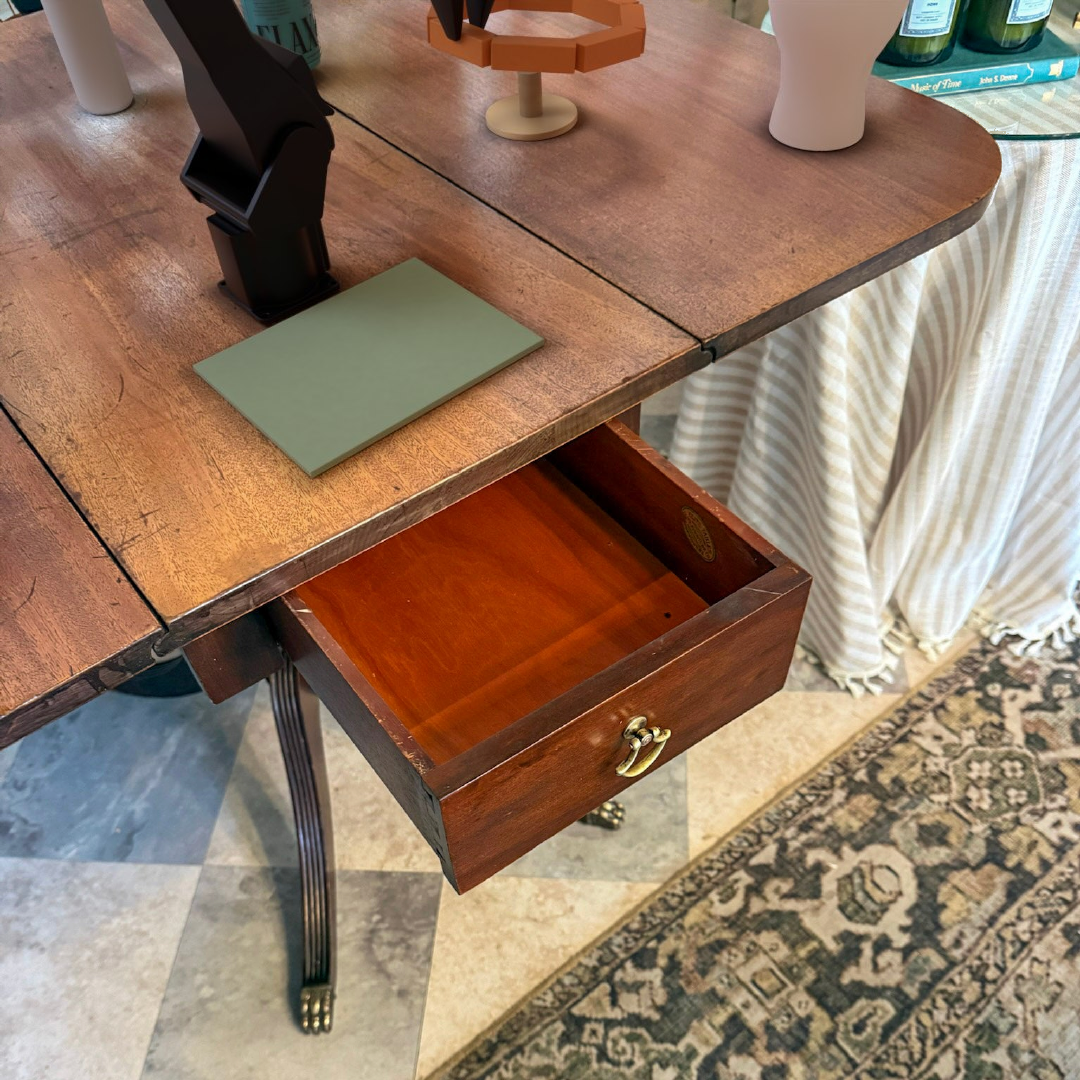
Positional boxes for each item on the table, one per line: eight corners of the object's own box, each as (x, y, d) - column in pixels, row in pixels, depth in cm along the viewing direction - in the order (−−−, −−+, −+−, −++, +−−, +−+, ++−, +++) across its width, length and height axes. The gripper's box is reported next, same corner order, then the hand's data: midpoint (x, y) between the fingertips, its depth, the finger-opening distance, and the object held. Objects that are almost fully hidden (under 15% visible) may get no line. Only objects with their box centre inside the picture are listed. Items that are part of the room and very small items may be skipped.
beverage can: (141, 107, 92) (93, -36, 83) (89, 121, 91) (34, -23, 82) (127, 89, 95) (79, -51, 86) (76, 102, 94) (22, -39, 85)
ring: (530, 89, 67) (531, 60, 66) (388, 28, 75) (386, 2, 74) (685, 43, 75) (689, 17, 74) (542, -7, 83) (543, -32, 82)
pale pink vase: (839, 93, 88) (874, -102, 77) (906, 146, 81) (955, -61, 70) (729, 115, 86) (749, -82, 75) (788, 170, 79) (819, -38, 68)
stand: (527, 150, 84) (524, 98, 80) (467, 120, 88) (462, 70, 85) (596, 118, 87) (596, 67, 84) (535, 91, 91) (533, 42, 88)
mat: (312, 478, 58) (310, 472, 57) (194, 371, 65) (191, 365, 65) (544, 344, 65) (544, 338, 65) (415, 262, 73) (414, 256, 72)
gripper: (474, -279, 68) (490, -26, 79) (234, -232, 59) (290, 43, 71) (591, -261, 62) (590, 9, 73) (343, -207, 54) (386, 89, 65)
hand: (465, 35), depth 71 cm, fingers closed on ring, 2 cm apart
